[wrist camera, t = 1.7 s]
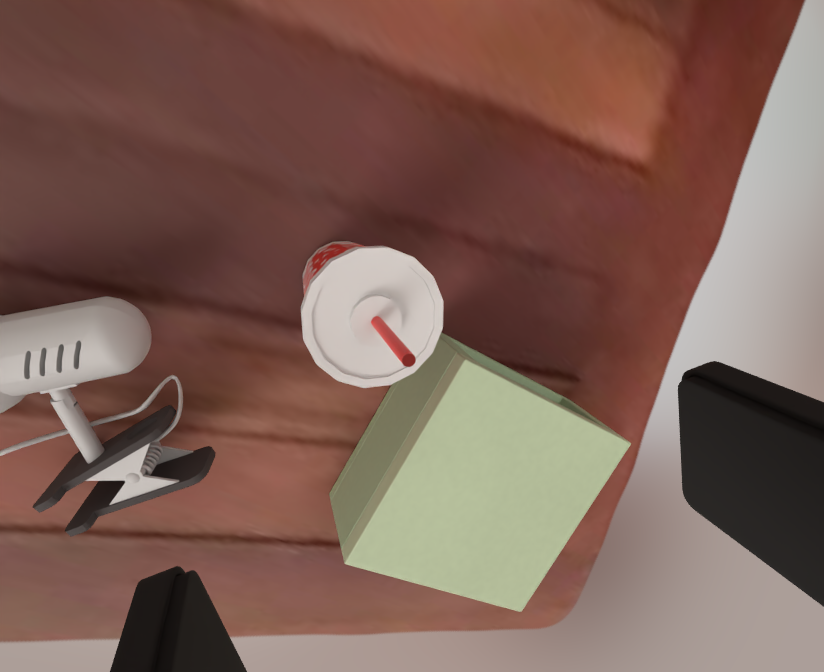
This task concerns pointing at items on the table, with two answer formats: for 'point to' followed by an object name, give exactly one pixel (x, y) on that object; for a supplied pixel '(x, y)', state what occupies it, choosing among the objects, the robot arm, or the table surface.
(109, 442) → the clip-on lamp
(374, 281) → the beverage cup
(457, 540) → the stand
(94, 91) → the table surface
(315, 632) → the table surface
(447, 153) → the table surface
